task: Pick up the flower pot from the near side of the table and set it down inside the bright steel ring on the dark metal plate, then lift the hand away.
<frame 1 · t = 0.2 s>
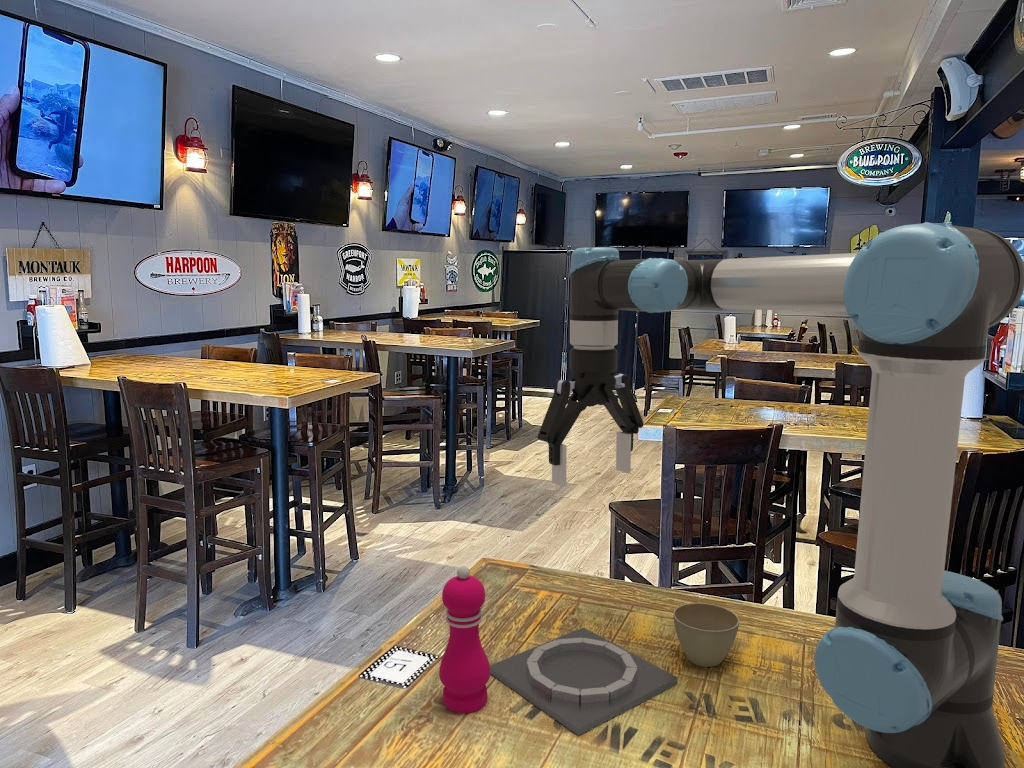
hand: (592, 477, 119), 27 cm above the table, tool pointing down, fingers open, 13 cm apart
ring plate: (581, 677, 110), on the table
flower pot: (704, 660, 115), on the table
pepper mill: (465, 701, 104), on the table
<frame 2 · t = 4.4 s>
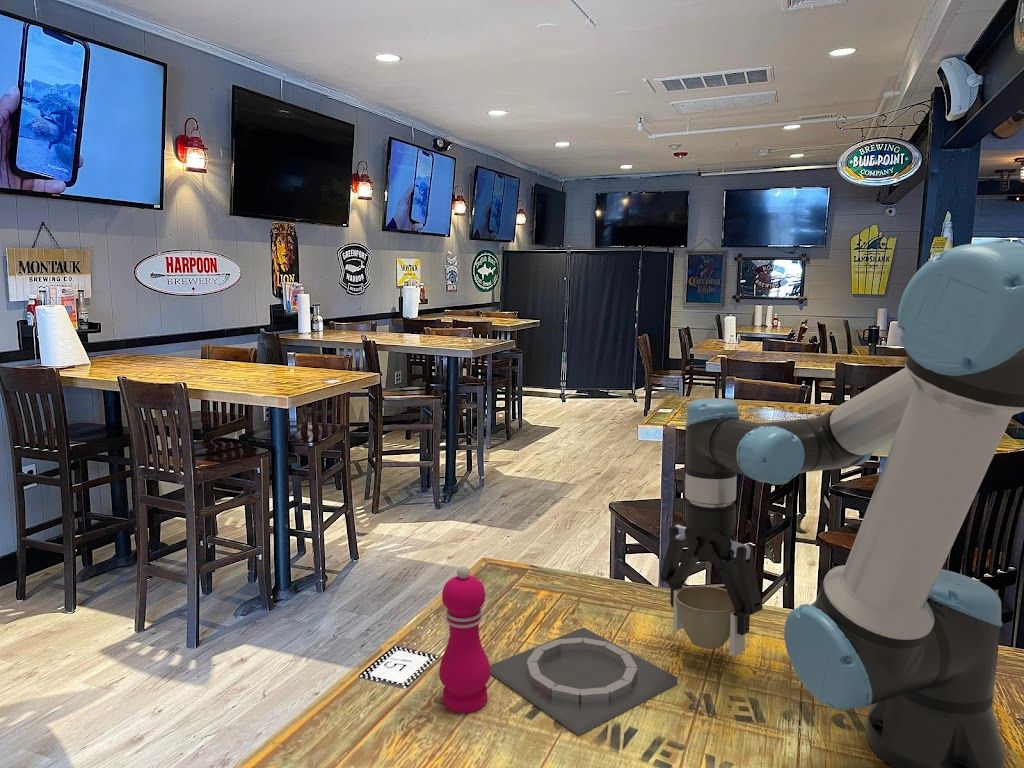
hand: (707, 639, 114), 4 cm above the table, tool pointing down, fingers closed on flower pot, 10 cm apart
flower pot: (707, 642, 114), point 3 cm above the table, touching gripper
everything else where it was.
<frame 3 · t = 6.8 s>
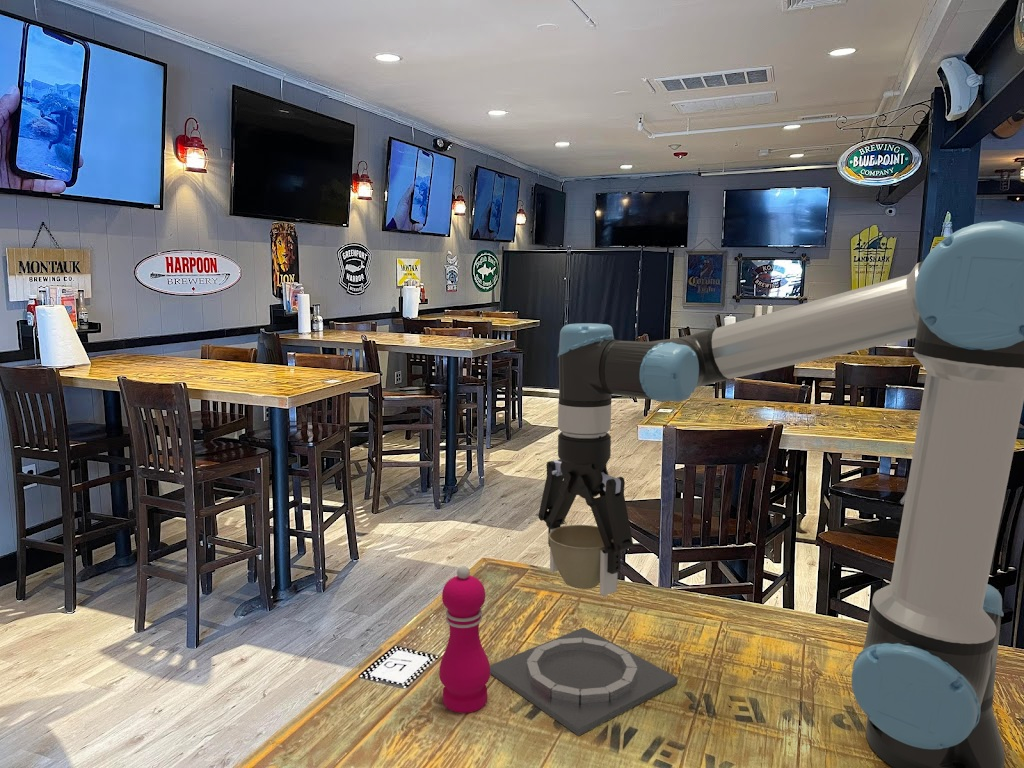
hand: (582, 580, 108), 15 cm above the table, tool pointing down, fingers closed on flower pot, 10 cm apart
flower pot: (582, 583, 108), point 15 cm above the table, touching gripper
everything else where it was.
when the fingers open (3 cm above the table, at t = 9.2 s): flower pot drops 1 cm, resting on ring plate.
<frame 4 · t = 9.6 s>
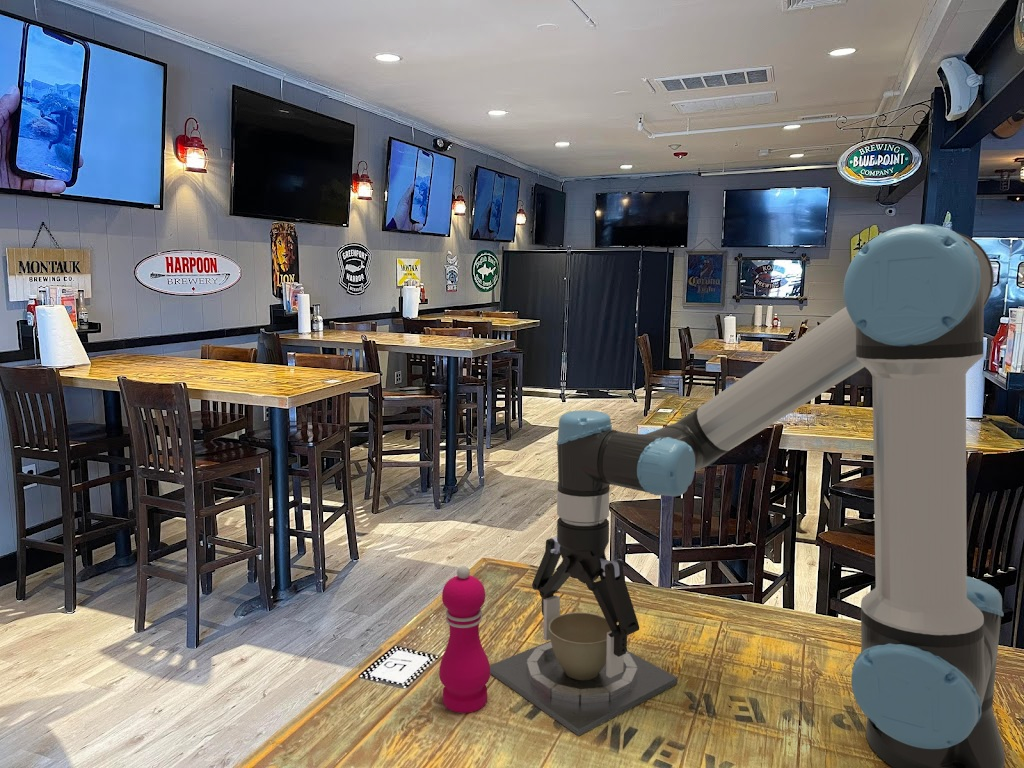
hand: (581, 654, 109), 4 cm above the table, tool pointing down, fingers open, 13 cm apart
flower pot: (581, 672, 110), point 1 cm above the table, touching ring plate
everything else where it was.
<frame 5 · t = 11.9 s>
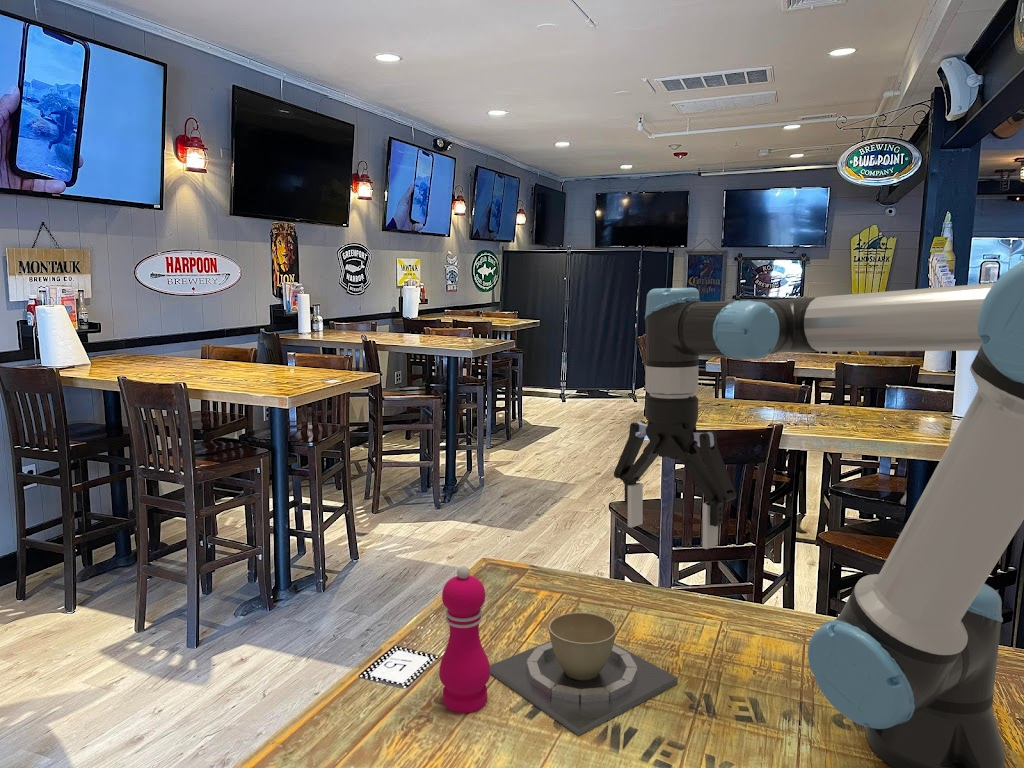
hand: (670, 535, 109), 21 cm above the table, tool pointing down, fingers open, 13 cm apart
nothing on the table moved.
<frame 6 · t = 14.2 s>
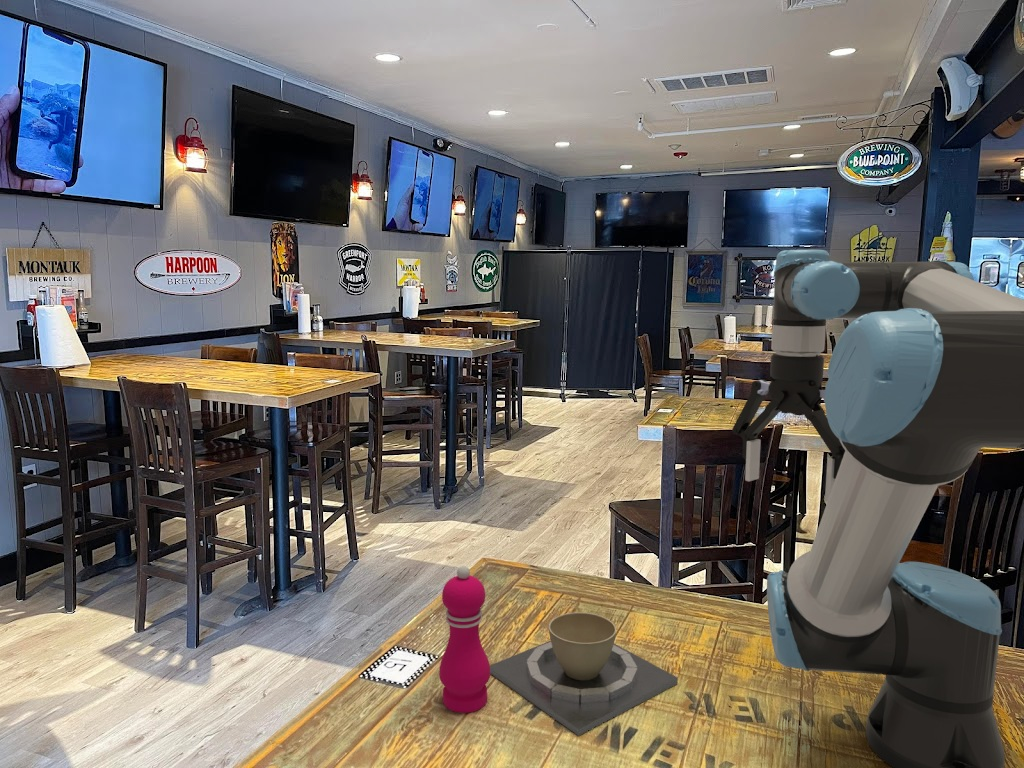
hand: (790, 489, 114), 27 cm above the table, tool pointing down, fingers open, 13 cm apart
nothing on the table moved.
at the end: flower pot 0.1 cm off-centre on the ring plate, point 0.8 cm above the ring plate's base; flower pot tilted 0°; the gripper is holding nothing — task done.
